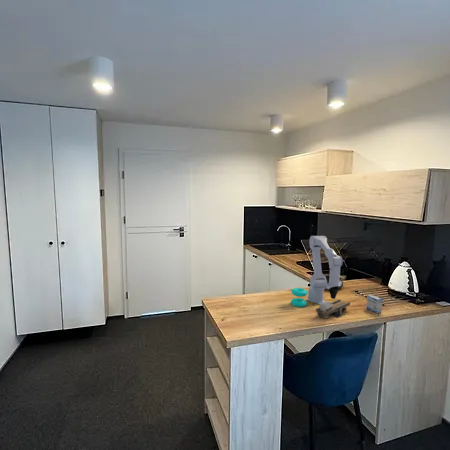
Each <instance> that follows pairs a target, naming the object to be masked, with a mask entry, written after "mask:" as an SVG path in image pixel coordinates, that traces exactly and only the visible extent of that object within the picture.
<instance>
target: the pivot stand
mask: <svg viewBox="0 0 450 450" xmlns="http://www.w3.org/2000/svg"><path fill="white" fill-rule="evenodd" d="M343 311H347V307H345V308H342V309H341V308H340V309H339V310H338V311H336V312H333V313H331V314H329V316H332V317H336V318H341V317H342V316H345V315H346V313H345V312H343Z"/></svg>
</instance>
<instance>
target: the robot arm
mask: <svg viewBox="0 0 450 450" xmlns="http://www.w3.org/2000/svg"><path fill="white" fill-rule="evenodd" d="M308 243H309V248H310V249H311V254H312V255H311V256H312V266H313V274H312V275H311V276H310V279H309V280H310V281H309V285H310V287H309V288H308V291H307V295H308V296H307V300H306V301H308V302H311V303H314V304H317V305H319V304H320V303H322V302H325V301H326V300H324V296H325V295H324V293H325V290H326V289H327V290H328V291H329V294H330V299H332V300H335V299H336V298H337V294H338V292H339V290H340V289H341V288H340V287H338V286H341V285H342V282H343V281H342V282H341V281H339V279H340V276H341V267H342V266H343V263H344V261H343V258H342V256H340V255H337V254H338V253H336V252H335V250H334V249H333V248H330V246H329V244H328V238H327V236H325V235H310V237H309V242H308ZM321 250H323V251H324V256H325V257H326V259H327V260H328V265H329V266H328V267H329V275H330V277H329V283H328V284H327V281H326V277H325V276H324V275H325V274H323V271H322V261H321V260H322V259H321V252H320V251H321ZM315 278H321V279H315Z"/></svg>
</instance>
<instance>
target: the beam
mask: <svg viewBox="0 0 450 450" xmlns="http://www.w3.org/2000/svg"><path fill="white" fill-rule="evenodd" d="M330 303H333V306H332V309H331V310H329V311H327V312H323V311H320V310H319V307H317V308H316V309H315V312H316V313H317V316H320V317H322V318H324V319H327V318H329V316H330V315H329V314H331V313H333V312H336V311H338V310H339V309H340V308H341V309H342V308H345V307H346V308H347V307H350V306H351V302H350V301H349V302H345V301H342V299H341V298H340V299H337V300H334V301H331V302H330Z"/></svg>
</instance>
